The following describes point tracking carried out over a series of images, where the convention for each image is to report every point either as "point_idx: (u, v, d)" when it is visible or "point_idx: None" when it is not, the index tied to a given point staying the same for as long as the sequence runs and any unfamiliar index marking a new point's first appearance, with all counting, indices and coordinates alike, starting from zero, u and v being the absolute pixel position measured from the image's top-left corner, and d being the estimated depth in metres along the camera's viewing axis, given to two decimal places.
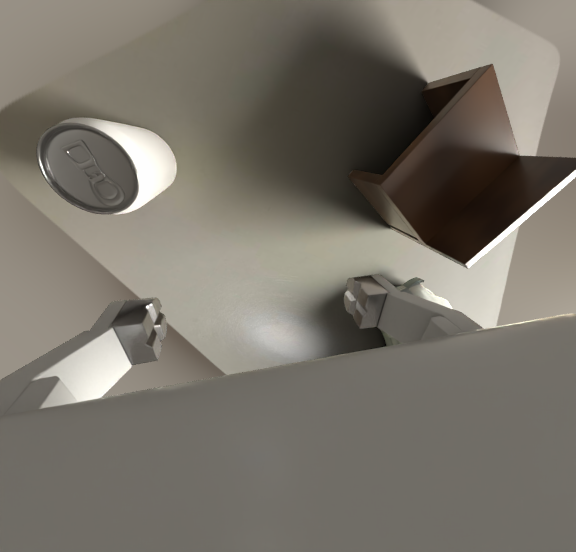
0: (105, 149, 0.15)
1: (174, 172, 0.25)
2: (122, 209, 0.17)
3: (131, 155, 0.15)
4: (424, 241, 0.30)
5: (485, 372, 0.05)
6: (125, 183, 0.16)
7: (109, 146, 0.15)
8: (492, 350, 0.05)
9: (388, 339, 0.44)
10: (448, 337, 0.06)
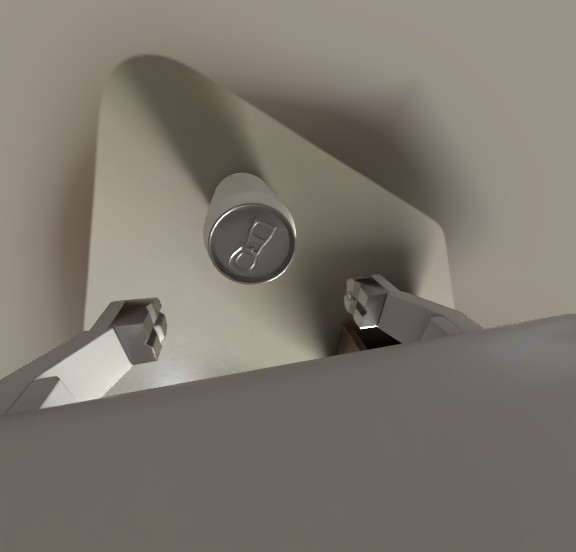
0: (280, 244, 0.15)
1: None
2: (238, 281, 0.15)
3: None
4: None
5: (485, 372, 0.05)
6: (262, 269, 0.16)
7: (285, 245, 0.15)
8: (492, 350, 0.05)
9: None
10: (448, 337, 0.06)
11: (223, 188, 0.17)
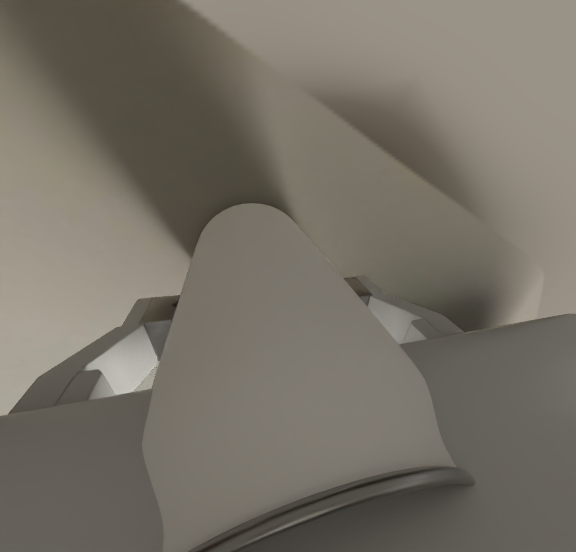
0: None
1: None
2: None
3: None
4: None
5: (485, 372, 0.05)
6: None
7: None
8: (492, 350, 0.05)
9: None
10: (448, 337, 0.06)
11: (210, 271, 0.06)
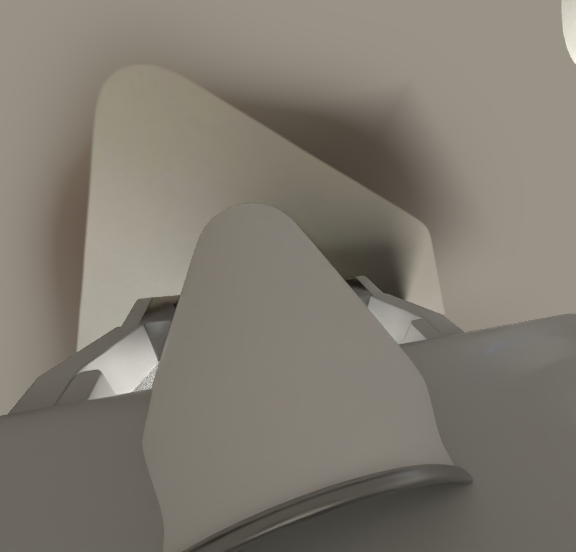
0: None
1: None
2: None
3: None
4: None
5: (485, 372, 0.05)
6: None
7: None
8: (492, 350, 0.05)
9: None
10: (448, 337, 0.06)
11: (210, 270, 0.06)
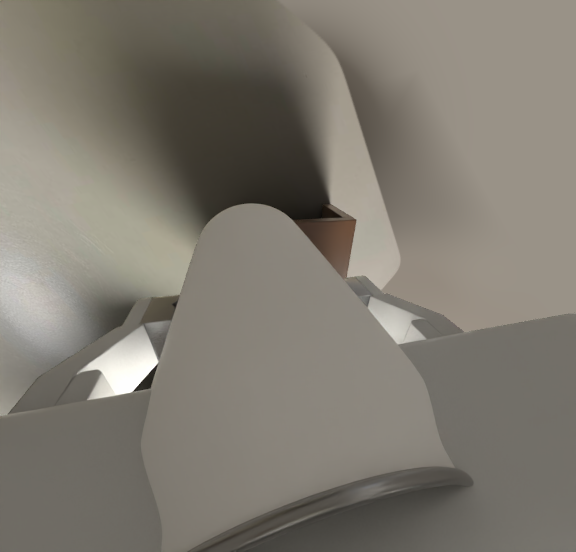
0: None
1: None
2: None
3: None
4: None
5: (485, 372, 0.05)
6: None
7: None
8: (492, 350, 0.05)
9: None
10: (448, 337, 0.06)
11: (209, 271, 0.06)
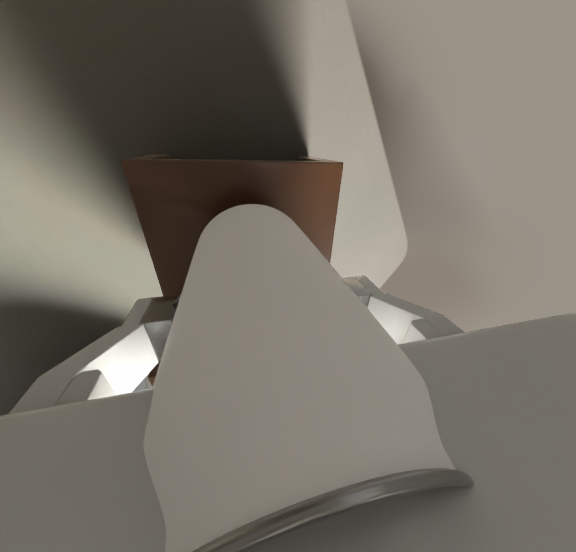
0: None
1: None
2: None
3: None
4: None
5: (485, 372, 0.05)
6: None
7: None
8: (492, 350, 0.05)
9: None
10: (448, 337, 0.06)
11: (210, 272, 0.06)
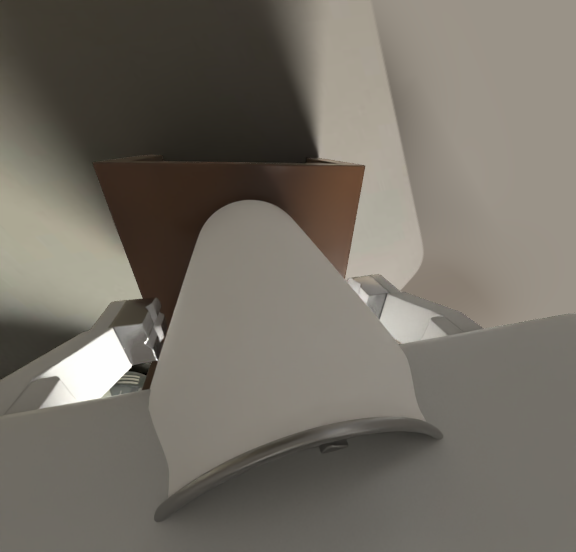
0: None
1: None
2: None
3: None
4: None
5: (485, 372, 0.05)
6: None
7: None
8: (492, 350, 0.05)
9: None
10: (448, 337, 0.06)
11: (210, 260, 0.07)
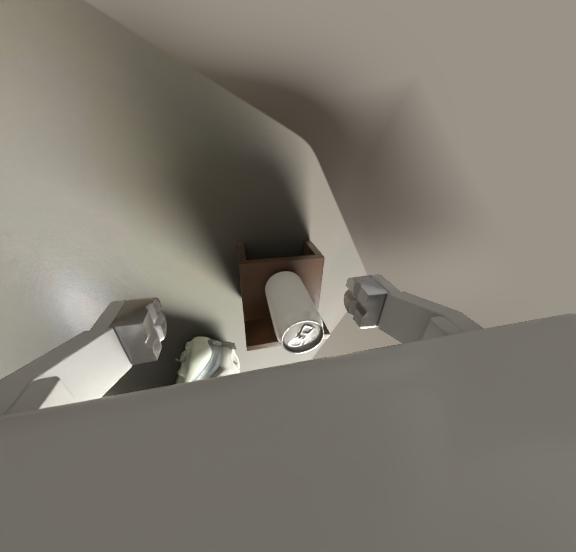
0: (316, 333, 0.29)
1: None
2: (293, 352, 0.29)
3: None
4: (244, 319, 0.40)
5: (485, 372, 0.05)
6: (305, 345, 0.29)
7: (318, 334, 0.29)
8: (492, 350, 0.05)
9: (179, 377, 0.48)
10: (448, 337, 0.06)
11: (281, 297, 0.31)
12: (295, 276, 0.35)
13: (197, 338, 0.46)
